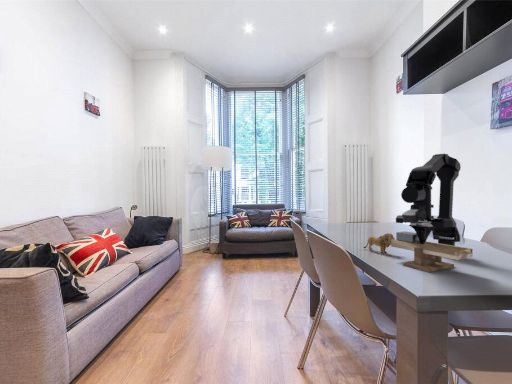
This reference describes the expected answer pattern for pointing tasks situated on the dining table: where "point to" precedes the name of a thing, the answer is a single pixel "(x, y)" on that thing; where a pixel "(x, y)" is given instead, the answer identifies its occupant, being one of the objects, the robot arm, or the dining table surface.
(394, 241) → the beam
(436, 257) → the stand
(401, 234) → the block
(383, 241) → the lion figurine
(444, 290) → the dining table surface
